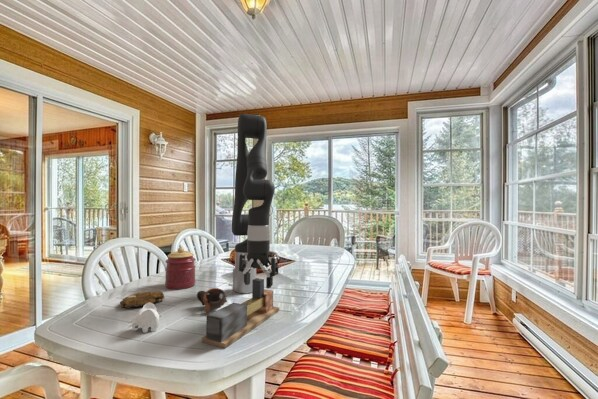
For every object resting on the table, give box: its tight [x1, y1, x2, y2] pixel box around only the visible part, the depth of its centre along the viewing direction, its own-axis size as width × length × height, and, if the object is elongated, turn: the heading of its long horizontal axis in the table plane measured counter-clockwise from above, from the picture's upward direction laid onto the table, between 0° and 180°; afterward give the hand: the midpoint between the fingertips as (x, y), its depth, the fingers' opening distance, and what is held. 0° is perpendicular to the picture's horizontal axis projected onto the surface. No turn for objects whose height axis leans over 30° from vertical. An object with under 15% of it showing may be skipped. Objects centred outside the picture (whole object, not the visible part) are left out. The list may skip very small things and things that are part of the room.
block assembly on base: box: [201, 288, 280, 349], centre depth 94 cm, size 30×8×8 cm, turn 155°
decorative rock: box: [119, 290, 166, 309], centre depth 113 cm, size 11×4×15 cm
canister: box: [164, 246, 196, 290], centre depth 137 cm, size 13×13×18 cm
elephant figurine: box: [127, 302, 164, 334], centre depth 90 cm, size 8×10×7 cm
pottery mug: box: [196, 287, 228, 314], centre depth 108 cm, size 12×10×8 cm
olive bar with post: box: [240, 277, 265, 316], centre depth 97 cm, size 18×3×9 cm, turn 155°
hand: (258, 286), depth 101 cm, fingers open, 8 cm apart
